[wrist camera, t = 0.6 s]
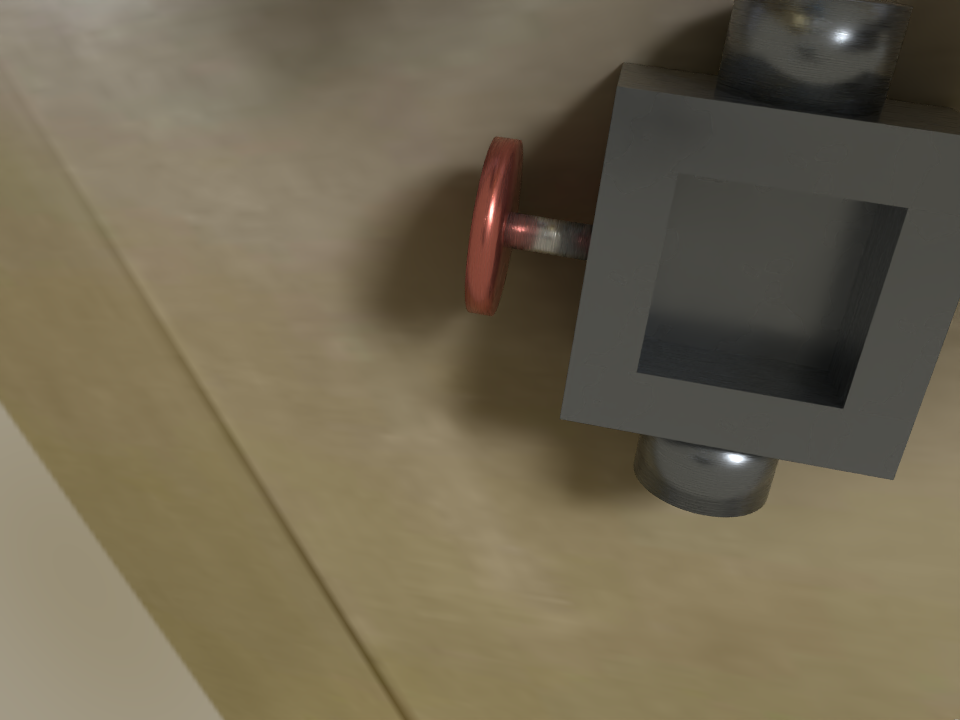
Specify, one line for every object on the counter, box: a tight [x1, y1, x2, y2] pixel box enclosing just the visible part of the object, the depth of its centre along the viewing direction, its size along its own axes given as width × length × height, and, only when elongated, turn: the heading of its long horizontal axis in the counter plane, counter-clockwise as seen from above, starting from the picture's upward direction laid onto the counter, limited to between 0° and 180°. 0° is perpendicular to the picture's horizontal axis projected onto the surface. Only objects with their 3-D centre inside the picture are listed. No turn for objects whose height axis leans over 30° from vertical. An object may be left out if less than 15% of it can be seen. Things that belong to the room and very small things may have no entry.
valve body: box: [465, 0, 960, 517], centre depth 31 cm, size 17×15×6 cm
